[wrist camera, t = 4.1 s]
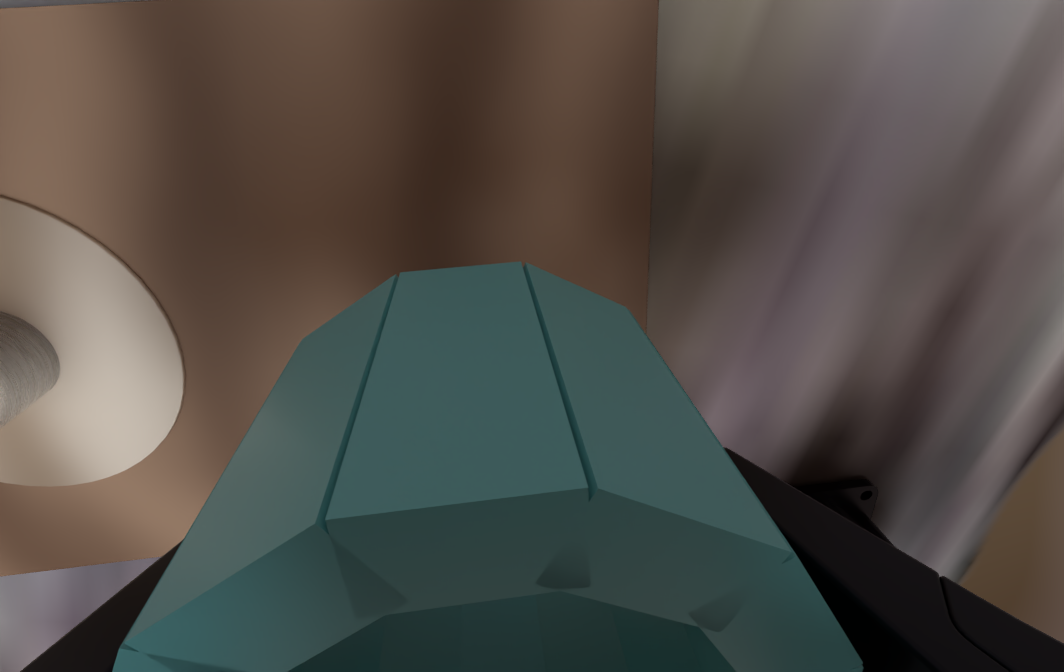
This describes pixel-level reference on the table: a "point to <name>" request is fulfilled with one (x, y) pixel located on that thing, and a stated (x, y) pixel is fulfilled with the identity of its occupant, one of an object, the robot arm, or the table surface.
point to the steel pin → (23, 366)
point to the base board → (277, 213)
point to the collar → (483, 506)
